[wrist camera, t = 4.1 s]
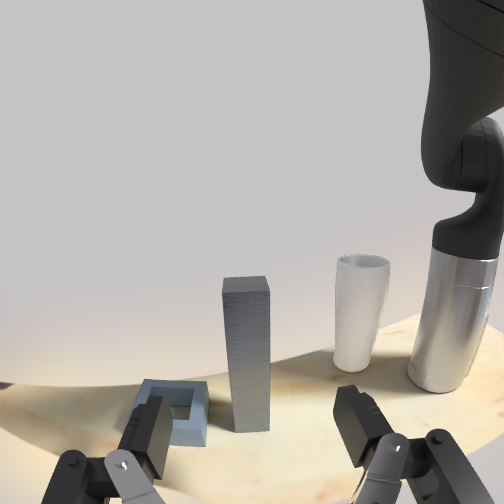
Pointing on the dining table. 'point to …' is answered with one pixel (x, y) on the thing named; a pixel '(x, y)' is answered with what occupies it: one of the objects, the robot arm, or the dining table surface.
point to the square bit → (248, 350)
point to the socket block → (181, 395)
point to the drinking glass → (358, 308)
